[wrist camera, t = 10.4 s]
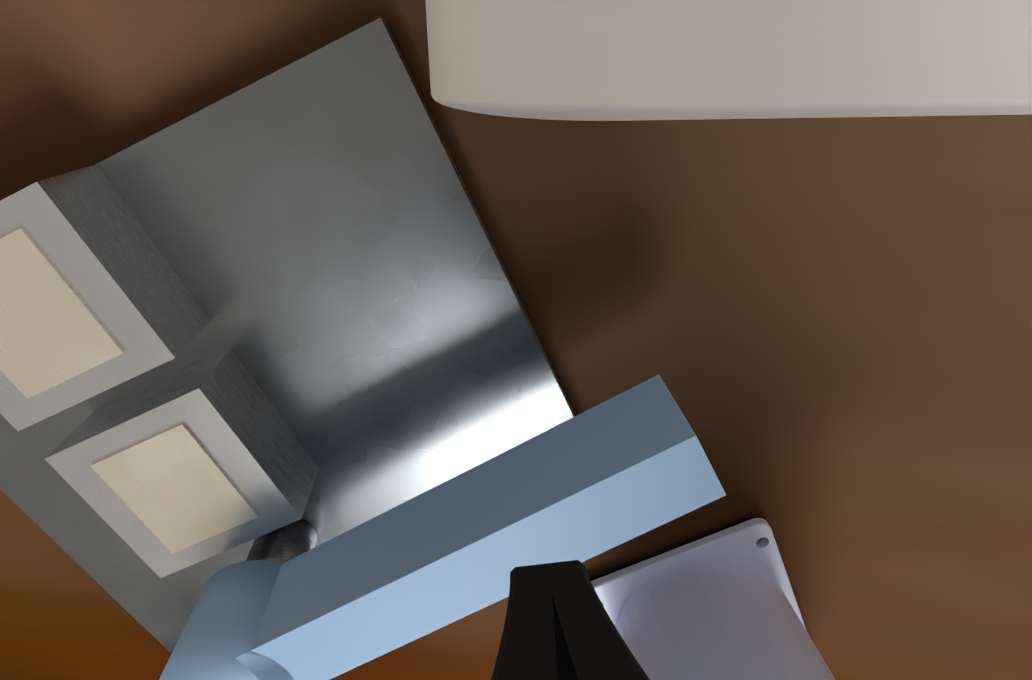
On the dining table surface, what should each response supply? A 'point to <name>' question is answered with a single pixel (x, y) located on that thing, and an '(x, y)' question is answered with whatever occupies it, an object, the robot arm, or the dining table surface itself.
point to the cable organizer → (730, 58)
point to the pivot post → (284, 543)
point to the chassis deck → (316, 305)
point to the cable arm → (451, 546)
